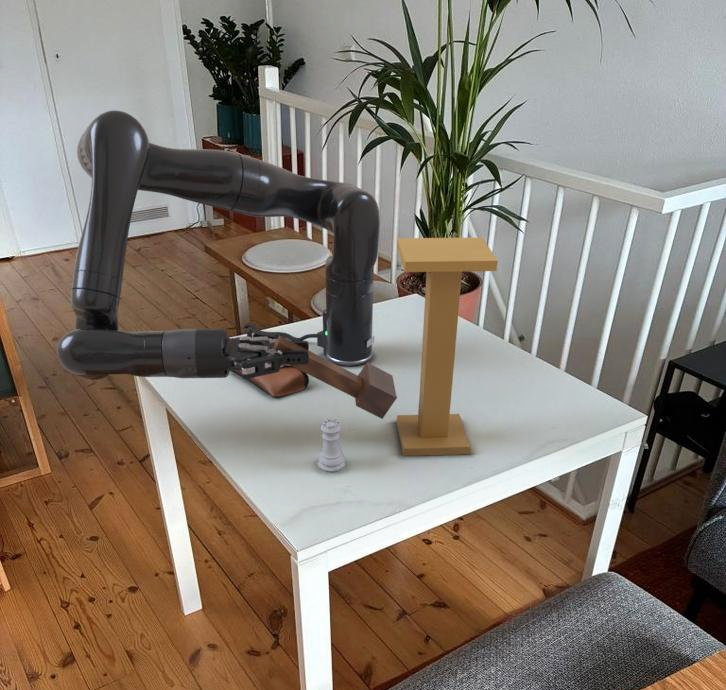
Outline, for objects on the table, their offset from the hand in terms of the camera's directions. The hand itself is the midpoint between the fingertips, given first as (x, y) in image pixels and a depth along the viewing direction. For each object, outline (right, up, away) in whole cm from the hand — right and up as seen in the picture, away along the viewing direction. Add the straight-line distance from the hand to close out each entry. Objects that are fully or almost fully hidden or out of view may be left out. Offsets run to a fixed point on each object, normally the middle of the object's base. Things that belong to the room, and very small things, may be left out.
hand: (308, 352), depth 114 cm
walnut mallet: (+3, -4, +3) cm, 6 cm away
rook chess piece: (+4, -18, +3) cm, 18 cm away
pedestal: (+20, -13, +10) cm, 26 cm away
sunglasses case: (-10, 0, +29) cm, 31 cm away
